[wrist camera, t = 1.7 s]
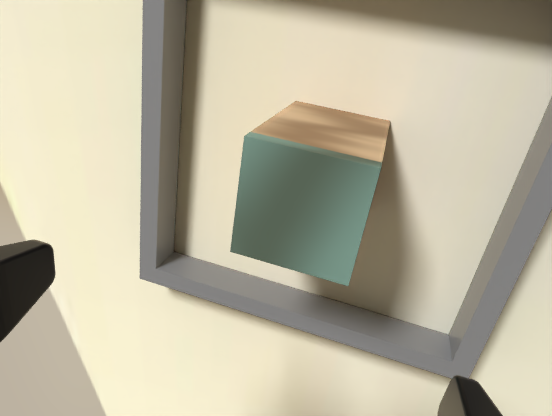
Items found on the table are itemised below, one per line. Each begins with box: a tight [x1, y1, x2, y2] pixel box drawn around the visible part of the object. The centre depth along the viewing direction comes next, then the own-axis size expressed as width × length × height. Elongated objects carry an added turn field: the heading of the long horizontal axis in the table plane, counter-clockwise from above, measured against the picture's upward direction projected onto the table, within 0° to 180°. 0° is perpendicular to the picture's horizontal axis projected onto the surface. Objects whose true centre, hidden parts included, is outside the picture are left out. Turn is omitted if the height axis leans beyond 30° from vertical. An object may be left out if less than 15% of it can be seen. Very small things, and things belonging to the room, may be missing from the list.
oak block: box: [230, 101, 390, 286], centre depth 17 cm, size 4×4×7 cm
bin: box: [140, 0, 552, 379], centre depth 19 cm, size 18×18×2 cm
